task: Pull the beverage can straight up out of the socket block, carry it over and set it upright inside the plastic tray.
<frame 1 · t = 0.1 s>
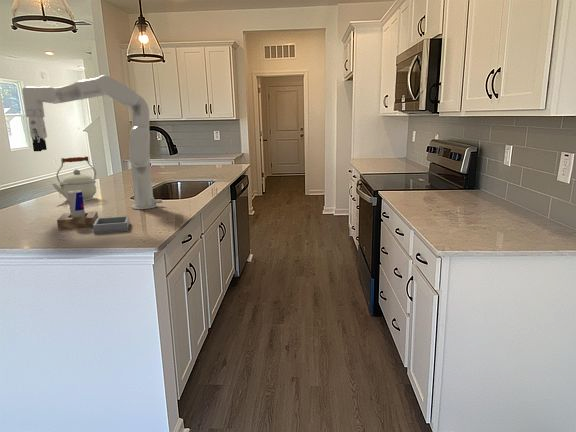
hand: (40, 150, 194), 31 cm above the countertop, tool pointing down, fingers open, 9 cm apart
socket block: (79, 224, 179), on the countertop
beverage can: (79, 224, 179), resting in socket block
kettle: (77, 200, 235), on the countertop
tray: (112, 228, 172), on the countertop
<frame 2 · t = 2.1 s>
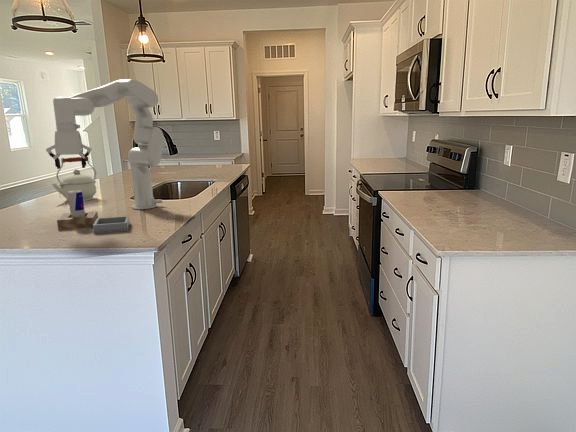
hand: (71, 168, 173), 25 cm above the countertop, tool pointing down, fingers open, 9 cm apart
nothing on the countertop moved.
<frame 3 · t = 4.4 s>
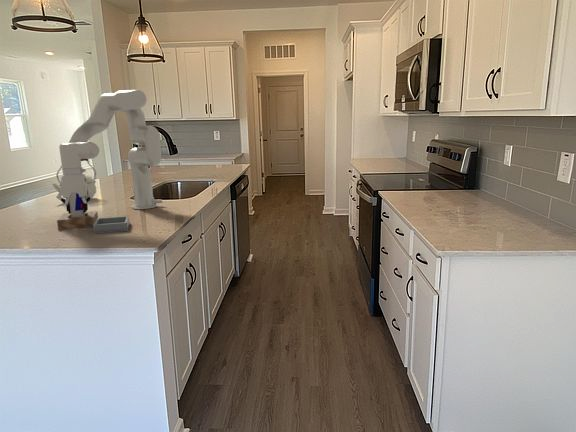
hand: (77, 212, 178), 6 cm above the countertop, tool pointing down, fingers closed on beverage can, 5 cm apart
beverage can: (79, 224, 179), resting in socket block, touching gripper
everything else where it was.
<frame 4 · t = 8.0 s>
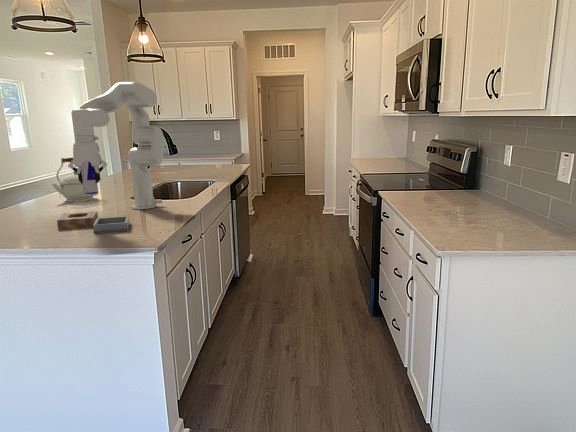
hand: (90, 182, 171), 19 cm above the countertop, tool pointing down, fingers closed on beverage can, 5 cm apart
beverage can: (91, 195, 173), point 14 cm above the countertop, touching gripper
everything else where it was.
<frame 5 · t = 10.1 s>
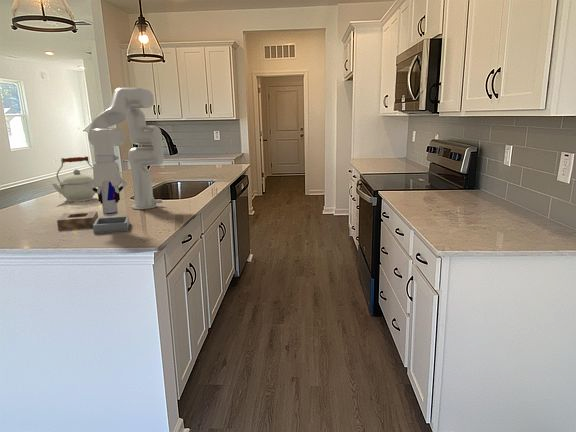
hand: (109, 202, 169), 11 cm above the countertop, tool pointing down, fingers closed on beverage can, 5 cm apart
beverage can: (110, 215, 170), point 6 cm above the countertop, touching gripper
everything else where it was.
when the fingers open (8 cm above the countertop, at t = 11.5 s): beverage can drops 2 cm, resting on tray.
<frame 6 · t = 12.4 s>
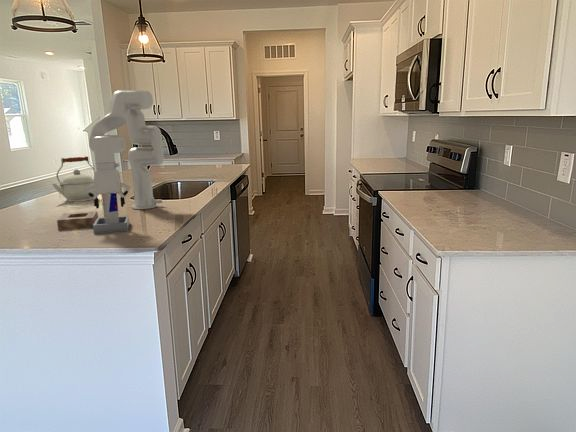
hand: (110, 207, 170), 9 cm above the countertop, tool pointing down, fingers open, 9 cm apart
beverage can: (112, 226, 172), point 1 cm above the countertop, touching tray
everything else where it was.
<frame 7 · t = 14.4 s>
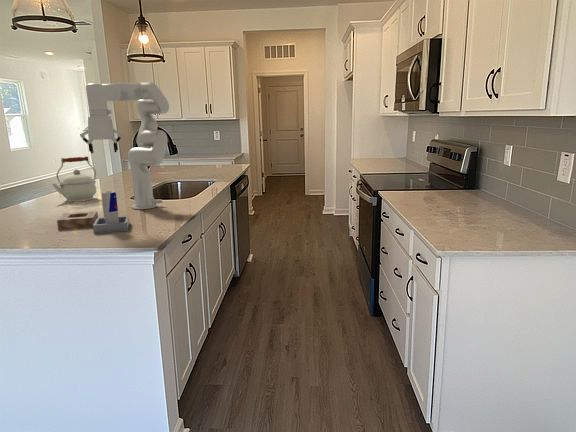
hand: (104, 152, 180), 31 cm above the countertop, tool pointing down, fingers open, 9 cm apart
nothing on the countertop moved.
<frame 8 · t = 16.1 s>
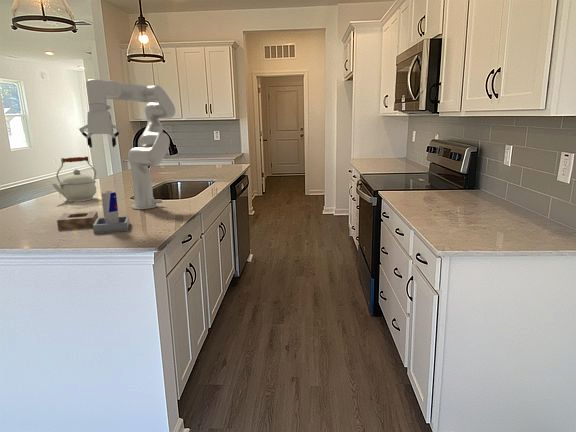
hand: (102, 147, 184), 33 cm above the countertop, tool pointing down, fingers open, 9 cm apart
nothing on the countertop moved.
at the end: beverage can inside the target area on the tray (0.2 cm from its centre), point 0.8 cm above the tray's base; beverage can tilted 0°; the gripper is holding nothing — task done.
